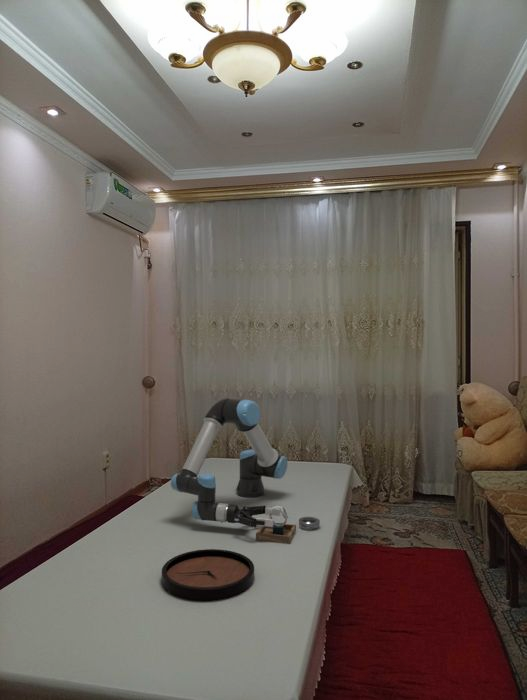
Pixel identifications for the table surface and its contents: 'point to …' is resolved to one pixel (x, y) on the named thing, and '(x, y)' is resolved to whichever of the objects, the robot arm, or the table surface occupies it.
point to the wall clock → (207, 575)
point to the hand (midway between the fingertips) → (276, 517)
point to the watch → (279, 527)
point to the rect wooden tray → (267, 535)
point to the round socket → (309, 523)
